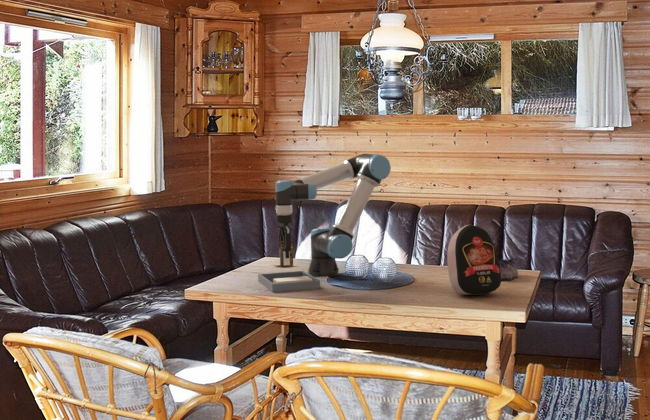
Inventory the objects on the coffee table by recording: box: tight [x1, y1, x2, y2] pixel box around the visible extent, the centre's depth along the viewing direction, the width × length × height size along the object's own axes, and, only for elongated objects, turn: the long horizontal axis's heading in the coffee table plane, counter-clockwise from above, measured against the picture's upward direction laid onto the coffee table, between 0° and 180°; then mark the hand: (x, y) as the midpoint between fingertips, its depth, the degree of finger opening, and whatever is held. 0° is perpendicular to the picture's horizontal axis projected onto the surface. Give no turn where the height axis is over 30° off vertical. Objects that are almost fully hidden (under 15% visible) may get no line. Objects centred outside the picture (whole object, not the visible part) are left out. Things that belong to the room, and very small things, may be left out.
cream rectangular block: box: [273, 276, 312, 284], centre depth 395 cm, size 16×8×4 cm, turn 108°
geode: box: [499, 257, 519, 281], centre depth 416 cm, size 20×12×10 cm, turn 151°
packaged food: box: [446, 224, 502, 296], centre depth 379 cm, size 22×20×30 cm
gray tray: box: [257, 270, 321, 293], centre depth 402 cm, size 22×26×4 cm
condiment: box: [273, 240, 297, 269], centre depth 405 cm, size 7×8×12 cm
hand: (284, 263), depth 406 cm, fingers closed on condiment, 6 cm apart
